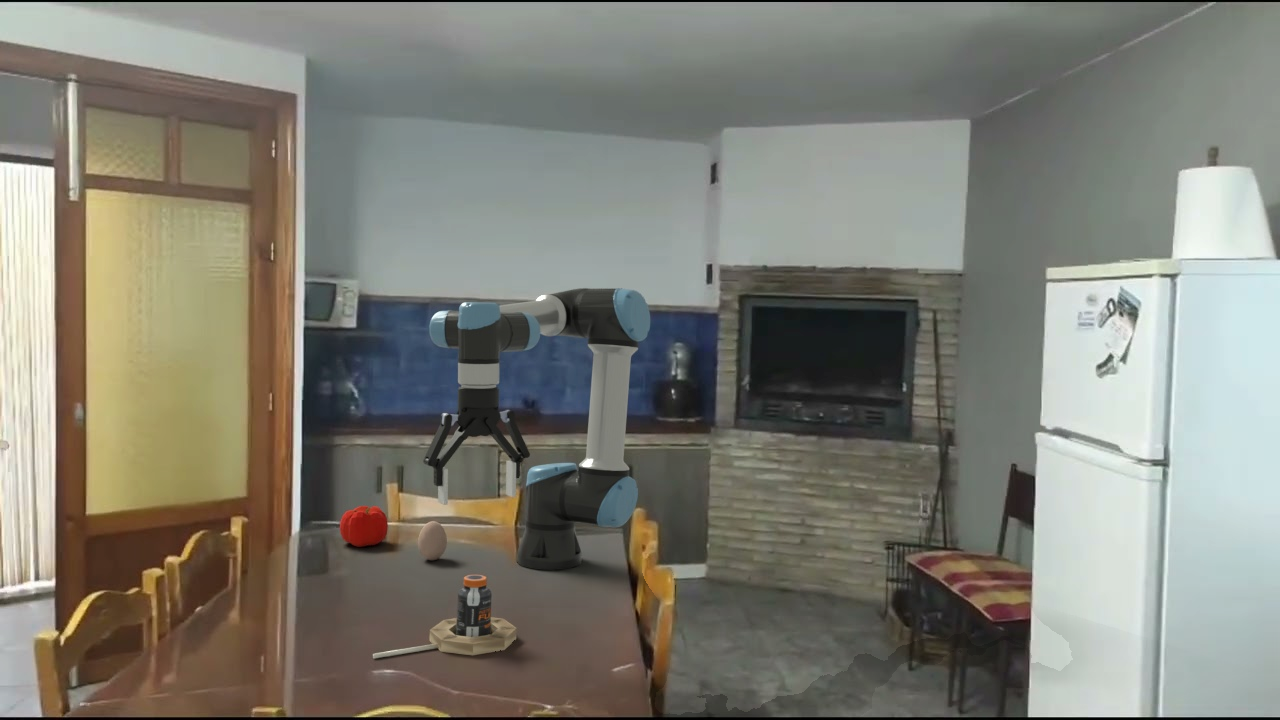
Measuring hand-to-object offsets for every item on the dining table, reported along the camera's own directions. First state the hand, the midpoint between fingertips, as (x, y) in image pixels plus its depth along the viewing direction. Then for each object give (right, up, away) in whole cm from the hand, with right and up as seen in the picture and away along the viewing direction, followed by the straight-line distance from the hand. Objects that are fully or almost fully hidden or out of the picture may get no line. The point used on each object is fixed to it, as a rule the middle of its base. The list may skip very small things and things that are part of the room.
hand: (477, 499), depth 174 cm
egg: (-18, -21, +45) cm, 53 cm away
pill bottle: (+1, -24, -8) cm, 25 cm away
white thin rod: (-9, -24, -16) cm, 30 cm away
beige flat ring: (+1, -24, -8) cm, 25 cm away
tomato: (-38, -20, +57) cm, 71 cm away
